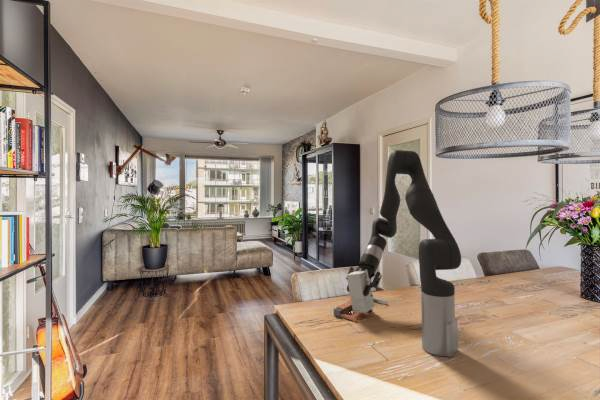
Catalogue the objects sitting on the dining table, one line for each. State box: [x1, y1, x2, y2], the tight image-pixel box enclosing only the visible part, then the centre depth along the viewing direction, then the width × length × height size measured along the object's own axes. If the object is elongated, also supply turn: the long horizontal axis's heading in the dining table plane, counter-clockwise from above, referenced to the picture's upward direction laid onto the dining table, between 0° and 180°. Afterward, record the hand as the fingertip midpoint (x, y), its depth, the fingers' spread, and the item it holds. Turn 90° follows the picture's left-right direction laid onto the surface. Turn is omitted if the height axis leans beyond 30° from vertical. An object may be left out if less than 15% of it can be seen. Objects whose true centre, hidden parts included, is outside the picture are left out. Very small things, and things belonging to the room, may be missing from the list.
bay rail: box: [333, 294, 388, 323], centre depth 128 cm, size 25×10×3 cm, turn 137°
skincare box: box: [346, 271, 375, 313], centre depth 124 cm, size 8×6×15 cm
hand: (356, 293), depth 121 cm, fingers closed on skincare box, 6 cm apart
